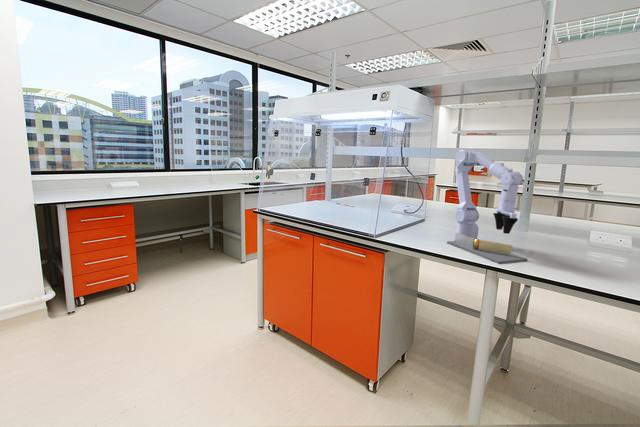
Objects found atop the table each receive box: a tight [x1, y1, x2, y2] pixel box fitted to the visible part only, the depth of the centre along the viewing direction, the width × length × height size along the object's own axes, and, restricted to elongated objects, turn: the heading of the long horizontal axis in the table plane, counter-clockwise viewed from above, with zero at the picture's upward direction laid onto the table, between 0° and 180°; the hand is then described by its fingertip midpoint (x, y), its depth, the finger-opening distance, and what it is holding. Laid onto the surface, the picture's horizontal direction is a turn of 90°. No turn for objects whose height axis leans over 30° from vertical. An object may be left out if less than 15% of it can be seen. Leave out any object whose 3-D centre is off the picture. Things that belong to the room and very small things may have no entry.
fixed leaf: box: [454, 232, 475, 249], centre depth 144 cm, size 1×11×4 cm, turn 21°
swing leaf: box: [474, 238, 513, 255], centre depth 135 cm, size 2×14×4 cm, turn 60°
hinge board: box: [446, 240, 529, 264], centre depth 139 cm, size 16×28×1 cm, turn 20°
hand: (502, 231), depth 137 cm, fingers open, 6 cm apart
